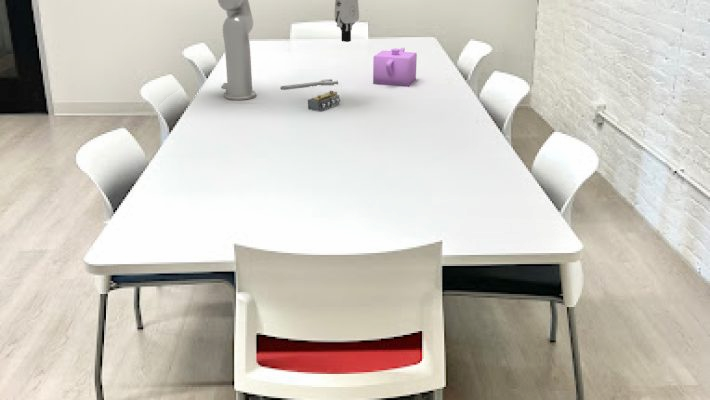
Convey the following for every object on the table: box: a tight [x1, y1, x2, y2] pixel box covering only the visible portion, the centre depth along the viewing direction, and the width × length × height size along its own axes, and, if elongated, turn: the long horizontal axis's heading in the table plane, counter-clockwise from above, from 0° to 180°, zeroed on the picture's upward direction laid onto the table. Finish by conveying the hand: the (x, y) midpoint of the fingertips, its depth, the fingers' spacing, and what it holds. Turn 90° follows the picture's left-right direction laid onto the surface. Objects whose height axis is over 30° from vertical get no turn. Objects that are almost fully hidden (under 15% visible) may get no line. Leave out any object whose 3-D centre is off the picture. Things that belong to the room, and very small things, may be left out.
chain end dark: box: [307, 96, 331, 112], centre depth 280 cm, size 7×6×4 cm
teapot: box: [372, 47, 418, 87], centre depth 318 cm, size 15×25×14 cm, turn 162°
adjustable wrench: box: [279, 78, 339, 91], centre depth 313 cm, size 25×6×2 cm, turn 113°
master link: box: [312, 90, 338, 101], centre depth 282 cm, size 2×12×5 cm, turn 147°
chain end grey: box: [330, 94, 341, 108], centre depth 284 cm, size 7×5×4 cm
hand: (346, 41), depth 286 cm, fingers closed
